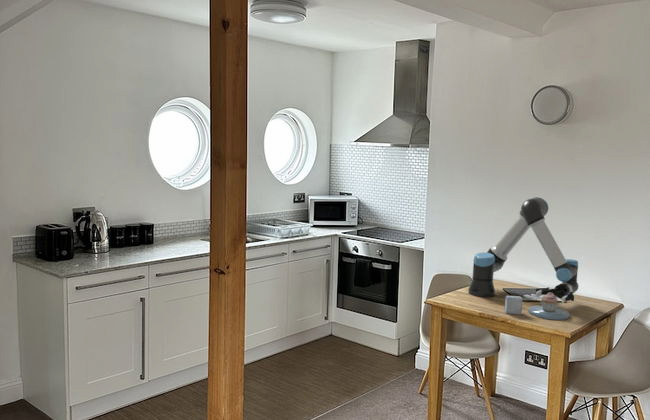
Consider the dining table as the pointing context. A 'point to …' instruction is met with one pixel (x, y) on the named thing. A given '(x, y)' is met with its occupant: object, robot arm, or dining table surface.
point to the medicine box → (513, 305)
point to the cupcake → (549, 302)
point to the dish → (549, 313)
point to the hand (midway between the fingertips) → (549, 297)
